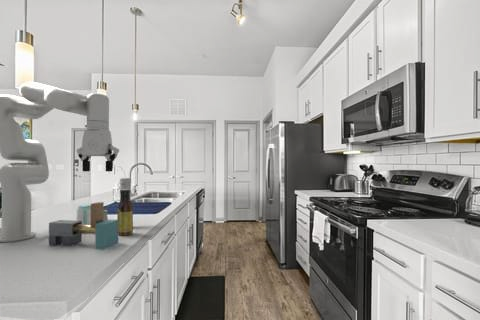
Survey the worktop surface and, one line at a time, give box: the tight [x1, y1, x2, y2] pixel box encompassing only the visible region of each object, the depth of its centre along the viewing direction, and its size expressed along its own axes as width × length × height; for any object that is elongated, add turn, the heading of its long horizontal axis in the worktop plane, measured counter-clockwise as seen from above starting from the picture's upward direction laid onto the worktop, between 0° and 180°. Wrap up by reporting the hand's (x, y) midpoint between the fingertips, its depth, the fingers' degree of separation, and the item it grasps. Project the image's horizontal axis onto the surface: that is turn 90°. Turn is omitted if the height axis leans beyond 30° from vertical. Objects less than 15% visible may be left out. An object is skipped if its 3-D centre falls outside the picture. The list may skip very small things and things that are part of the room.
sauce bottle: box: [116, 188, 134, 237], centre depth 116 cm, size 6×6×20 cm
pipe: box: [118, 166, 132, 199], centre depth 129 cm, size 6×6×30 cm
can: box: [76, 203, 91, 225], centre depth 123 cm, size 7×7×12 cm
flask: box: [103, 209, 109, 221], centre depth 120 cm, size 7×7×10 cm
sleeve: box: [48, 219, 83, 247], centre depth 103 cm, size 10×6×8 cm, turn 81°
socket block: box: [94, 219, 119, 250], centre depth 100 cm, size 4×8×9 cm, turn 171°
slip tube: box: [73, 201, 105, 235], centre depth 101 cm, size 16×4×12 cm, turn 81°
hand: (97, 171), depth 101 cm, fingers open, 9 cm apart
